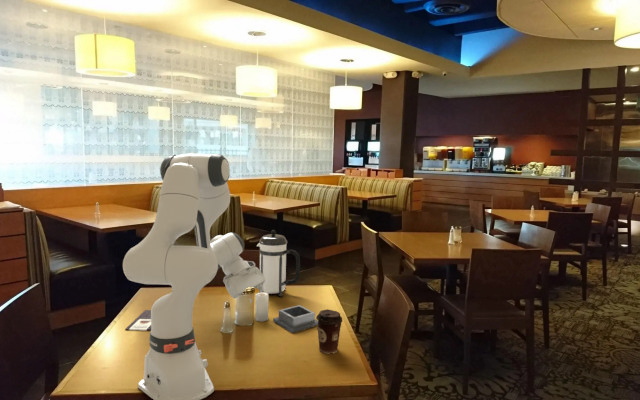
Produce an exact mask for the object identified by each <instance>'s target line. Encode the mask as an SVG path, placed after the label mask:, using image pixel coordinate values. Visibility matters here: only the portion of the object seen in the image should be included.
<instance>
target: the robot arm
mask: <svg viewBox="0 0 640 400" xmlns="http://www.w3.org/2000/svg"><path fill="white" fill-rule="evenodd" d="M159 169H160V171H159V172H160V177H161V179H162V184H161V187H160V193H159V197H158V205H157V210H156V215H155V219H154V222H153V225H152V228H151V229H150V230H149V232H148V234H147V235H146V236H145V237H144V238H143V239H142V240H141V241H140V242H138V244H136V245H135V246H133V247H131V248H129V250H128V251H127V252H126V253H125V255H124V258H123V260H122V270H123V273H124V275H125V277H126V279H127V280H128V281H131V282H134V283H138V284H142V285H143V284H144V285H166V286H167V285H169V286H171V292H170V293H167V294H165V295H163V296H161V297H159V298H158V299H156V301H154V303H153V304H152V306H151V309H150V310H151V331H149V336H148V338H149V339H148V341H149V350H148V351H147V353H146V354H145V355H144V360H143V361H144V363H143V364H144V365H143V378H142V379H141V380H140V381H139V382H138V385H137V388H138V389H139V390H141V391H142V392H143V393H144V394H146V395H147V396H148V397H150V398H151V399H153V400H203V399H205V398H207V397H208V396H209V395H211V394H212V393H213V392H214V391H215V388H214V387H215V386H214V384H213V382H212V379H211V378H210V376H209V373H208V372H207V369H206V368H207V367H208V365H209V364H208V360H207V358H205V359H203V358H202V357H201V355H202V350H201V349H198V345H197V342H196V335H195V332H194V327H193V309H194V303H195V301H196V297H197V296H198V294H199V293H200V291H201V290H202V289H203V288H204V287H205V286H206V285H207V284H209V283H210V282H211V281H212V280H213V279H215V276H216V275H217V272H218V270H219V269H220V268H221V269H222V272H223V273H224V277H223V278H222V279H223V280H222V282H223V283H224V285H225V289H226V290H227V292H228V294H229V295H230V297H231V298H233V299H237V298H238V297H240V295H241V294H244V293H243V292H244V290H245V289H246V288H248V287H254V289H256V288H257V290H258V292H259V291H260V293H261V292H264V293H266V292H265V291H264V288H263V285H262V284H263V283H264V282H265V277H264V276H263V274H262V273H261V271H260V268H258V267H257V266H256V263H255V262H254V261H251V260H250V261H249V260H244V259H243V258H242V257H241V256H240V254H242V253H243V252H244V248H245V242H244V240H243V238H242V237H241V236H240V235H239V234H237V233H236V232H228V233H226V234H224V235H222V234H219V235H216V236H214V237H212V238H211V234H210V231H211V227H212V226H213V225H214V223H215V222H216V220H217V219H218V218H220V216H221V215H223V213H225V212H226V210H227V209H228V207H229V205H230V204H231V192H230V189H229V185H228V181H229V179H230V173H231V172H230V171H231V169H230V163H229V161H228V159H227V158H226V157H225V156H224V155H223V154H219V153H212V154H211V153H210V154H209V153H208V154H207V153H185V154H174V155H173V154H171V155H169V156H166V157H165V158H164V159H163V160H162V162H161V165H160V168H159ZM193 229H194V235H195V236H194V237H195V243H196V245H174V244H175V243H176V241H177V239H178V238H179V237H181V236H182V235H185V234H187V233H189V232H191V231H192V230H193ZM249 300H250V304H252V303H253V302H252V301H254V299H253V300H251V299H249Z"/></svg>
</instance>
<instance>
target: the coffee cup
mask: <svg viewBox="0 0 640 400" xmlns="http://www.w3.org/2000/svg"><path fill="white" fill-rule="evenodd" d="M315 320H317V321H318V326H317V335H318V336H317V337H318V344H319V345H318V350H319V351H321V353H323V354H328V355H331V354H330V353H333V354H336V353H337V352H338V346H339V343H340V342H339V340H340V334H341V327H342V322H343V317H342V316H341V313H340V312H339V311H337V310H332V309H322V310H320V311H319V312H318V315H316V316H315ZM335 352H336V353H335Z"/></svg>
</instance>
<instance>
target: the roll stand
mask: <svg viewBox="0 0 640 400" xmlns="http://www.w3.org/2000/svg"><path fill="white" fill-rule="evenodd" d="M315 314H316V313H315V312H314V311H313V310H310V309H309V308H306V307H305V306H303V305H301V304H298V305H295V306H291V307H286V308H282V309H278V317H274V318H273V319H272V322H274V323H275V324H277V325H278V326H280V327H282V328H283V329H284V330H286V331H288V332H289V333H291V334H295V333H299V332H301V331H304V329H305V330H308V329H311V328H314V327H313V326H315V327H317V326H316V325H318V320H317V319H316V315H315ZM310 327H311V328H310ZM307 328H308V329H307Z"/></svg>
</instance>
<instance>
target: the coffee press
mask: <svg viewBox="0 0 640 400" xmlns="http://www.w3.org/2000/svg"><path fill="white" fill-rule="evenodd" d="M287 244H288V240H287V239H286V237H285V236H284V235H282V234H277V231H276V230H275V229H272V230H271V231H270V234H265V235H263V236H261V238H260V239H259V242H258V243H257V245H256V247H259V270H260V271H261V273H262V274H263V276H264V277H265V282H264V283H263V284H262V285H263V288H264V291H265V292H266V293H268V294H271V295H272V294H277V295H278V297H279V296H280V297H279V298H283V297H282V296H284V294H283V292H285V291H286V290H287V287H286V285H292V284H293V285H294V284H296V283H297V282H298V281H299V278H300V273H301V272H300V271H301V258H300V255H299V253H298V252H297V251H296V250H293V249H287ZM287 254H290V255H293V256H294V257H295V278H293V279H286V277H287V276H286V275H287V272H286V271H287V270H286V269H287V267H286V266H287ZM285 289H286V290H285ZM284 290H285V291H284ZM258 293H260V291H259V290H258Z"/></svg>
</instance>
